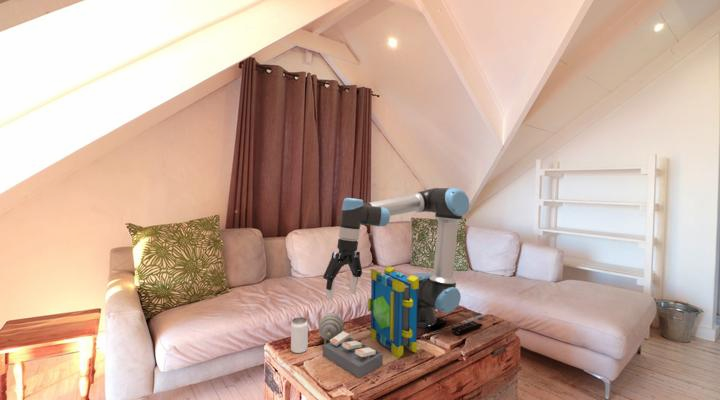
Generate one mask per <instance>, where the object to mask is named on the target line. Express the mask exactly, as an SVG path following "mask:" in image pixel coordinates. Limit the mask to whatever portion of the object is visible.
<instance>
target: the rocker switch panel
mask: <svg viewBox="0 0 720 400" xmlns="http://www.w3.org/2000/svg"><path fill="white" fill-rule="evenodd" d="M350 341H357V340H355V339H354V338H352V337H349V338H347V339H346V340H345V341H343V342H342V343H344V342H350ZM358 342H359V343H361V344H362V347H360V348H356V349H349V350H348V349H346V348H344V347H343V346H342V343H340V344H339V345H338V346H335V345H333V344H331V343H330V342H327V344H325V345H324V344H323V345H322V356H323V357H324V358H326V359H327V358H328V359H327V360H329V361H331V362H332V361H333V364H335V363H336V365H337V366H339V367H341V368H342V369H344V370H345V371H346V372H349V373H350V374H351V375H353V376H355V377H357V378H358V379H360V378H362V377H364V376H365V375H367V374H369V373H371V372H372V371H375V370H376V369H378V368H380V367H382V366H383V365H384V364H383V363H384V361H383V359H384V358H383V357H384V354H383V353H381V352H379V351H378V350H376V349H373V348H371V347H370V346H367V345H366V344H364V343H362V342H360V341H358ZM367 347H369V348H371V349H373V350H375V351H376V353H375V354H374V355H369V356H365V357H361V356H359V355H357V354H355V350H357V349H362V348H367Z"/></svg>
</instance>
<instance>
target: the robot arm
mask: <svg viewBox="0 0 720 400" xmlns="http://www.w3.org/2000/svg"><path fill="white" fill-rule="evenodd" d="M469 208H470V199H469V197H468V195H467V194H466V192H465V191H464V190H463V189H461V188H454V187H448V188H447V187H444V188H443V187H441V188H440V187H433V188H429V189H425V190H421V191H420V190H419V191H415V192H413V193H412V194H411V195H405V196H399V197H395V198H388V199H383V200H376V201H372V202H371V201H369V202H364V200H363V199H359V198H352V197H345V198H344V199H343V201H342V206H341V214H340V224H339V231H338V240H337V246H336V248H337V249H338V252H334V251H333V252H332V253H331V258H330V260H329V263H328V265H327V267H326V270H325V272H324V273H323V276H322V279H323V280H324V279H325V280H326V292H325V293H326V294H325V298H326V299H328V300H330V301H331V300H332V301H333V299H334V292H335V284H336V281H335V279H336V277H337V276H338V274H339V272H340V271H341V269H342V267H344V266H345V265H348V267H349V270H350V272H351V273H352V275H351V276H350V282H349V289H348V292H349V294H352V295H353V294H354V295H356V294H357V285H358V281H359V278H361V277H362V274H363V270H362V269H363V268H362V263H361V258H360V256H361V253H360V251H358V248H359V247H358V245H359V239H360V238H359V237H360V230H361V225H363V226H365V225H366V226H372V227H373V226H375V227H378V228H379V227H386V226H387V225H389V222H390V218H391V217H392V216H398V215H401V214H406V213H407V214H408V213H411V212H413V213H414V212H415V213H424V212H425V213H435V215H434V218H435V219H436V220H437V231H436V242H435V253H434V262H433V263H434V264H433V271H432V272H433V273H429V272H418V273H413V274H411V275H413V276H416V277H418V278H419V289H418V291H417V328H422V329H423V328H426V327H427V326H428V325H429V324H432V323H434V322H436V320H437V315H436V312H435V311H436V310H437V311H438V312H442V313H445V314H446V313H447V314H449V313H452V312H453V311H455V309H457V307H458V306H459V304H460V302H461V296H462V295H461V292H460V290H459V288H457V287H456V286H457V281H456V279H455V278H454V270H455V259H456V249H457V247H456V246H457V237H458V227H459V223H460V222H462V220H463V216H465V215H466V214H467V212H468V211H469Z"/></svg>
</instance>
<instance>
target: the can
mask: <svg viewBox="0 0 720 400" xmlns="http://www.w3.org/2000/svg"><path fill="white" fill-rule="evenodd" d="M291 321H292V322H291V323H290V350H291V352H292V353H294V354H303V353H306V352H307V351H308V344H309V343H308V342H309V340H308V334H309V333H308V330H309V329H308V321H307V318H306V317H303V316H300V317H299V316H297V317H294V318H293V319H292V320H291Z"/></svg>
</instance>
